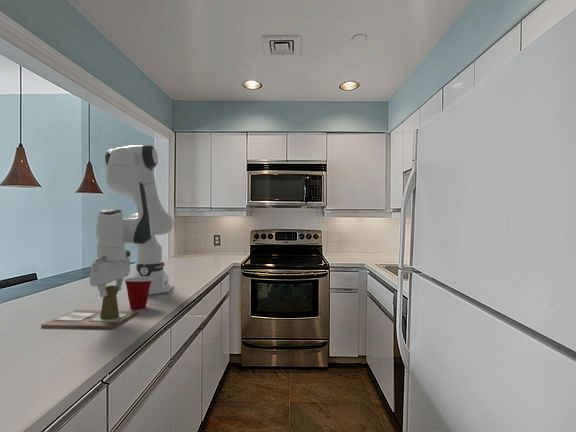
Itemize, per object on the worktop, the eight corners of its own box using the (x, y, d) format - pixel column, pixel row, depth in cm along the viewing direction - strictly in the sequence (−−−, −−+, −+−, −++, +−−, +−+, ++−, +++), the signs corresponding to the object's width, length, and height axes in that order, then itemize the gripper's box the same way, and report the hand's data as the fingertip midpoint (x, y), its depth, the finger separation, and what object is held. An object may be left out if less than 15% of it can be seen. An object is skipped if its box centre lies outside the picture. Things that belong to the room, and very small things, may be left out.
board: (76, 312, 134) (76, 309, 134) (137, 313, 133) (137, 310, 133) (41, 327, 116) (41, 323, 116) (111, 329, 115) (112, 325, 115)
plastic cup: (158, 305, 146) (158, 276, 146) (140, 312, 135) (141, 281, 135) (136, 303, 148) (136, 275, 148) (117, 309, 138) (117, 279, 138)
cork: (111, 319, 120) (111, 288, 120) (96, 318, 122) (96, 287, 122) (122, 315, 126) (123, 284, 126) (108, 314, 127) (108, 284, 127)
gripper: (103, 258, 113) (103, 301, 114) (133, 251, 134) (133, 287, 134) (84, 258, 114) (84, 300, 114) (117, 251, 134) (117, 287, 134)
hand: (111, 293), depth 124 cm, fingers open, 8 cm apart
